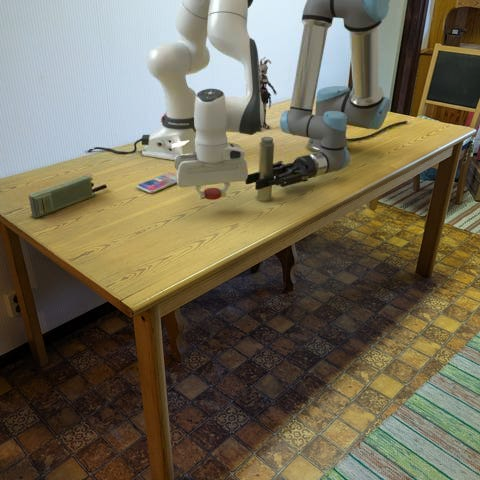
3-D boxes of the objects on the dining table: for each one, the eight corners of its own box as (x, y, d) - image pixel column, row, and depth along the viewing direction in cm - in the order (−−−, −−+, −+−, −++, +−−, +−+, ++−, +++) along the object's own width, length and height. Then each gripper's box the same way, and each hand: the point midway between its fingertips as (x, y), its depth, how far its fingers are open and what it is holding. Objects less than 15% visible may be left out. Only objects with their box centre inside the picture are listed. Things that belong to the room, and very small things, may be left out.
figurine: (253, 133, 212) (255, 58, 197) (243, 130, 216) (244, 56, 201) (277, 126, 221) (281, 54, 206) (267, 123, 224) (270, 52, 210)
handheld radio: (30, 215, 144) (102, 188, 161) (37, 219, 142) (109, 191, 159) (26, 193, 140) (100, 168, 157) (33, 197, 138) (107, 171, 155)
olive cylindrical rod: (255, 196, 157) (257, 136, 148) (268, 195, 158) (271, 135, 149) (260, 202, 153) (262, 141, 144) (273, 200, 155) (276, 139, 145)
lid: (219, 200, 143) (218, 195, 142) (202, 199, 144) (201, 193, 143) (222, 193, 147) (222, 188, 146) (206, 192, 148) (206, 187, 147)
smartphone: (184, 177, 167) (150, 191, 157) (184, 180, 167) (151, 194, 157) (168, 171, 171) (134, 185, 161) (168, 174, 171) (135, 188, 161)
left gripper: (175, 158, 134) (178, 205, 140) (249, 151, 139) (249, 197, 145) (172, 150, 139) (175, 196, 146) (243, 144, 144) (243, 189, 151)
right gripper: (327, 186, 158) (268, 204, 145) (290, 169, 170) (234, 184, 158) (329, 163, 154) (269, 180, 142) (292, 147, 166) (234, 161, 154)
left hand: (212, 197), depth 146 cm, fingers closed on lid, 5 cm apart
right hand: (251, 182), depth 150 cm, fingers closed on olive cylindrical rod, 4 cm apart
